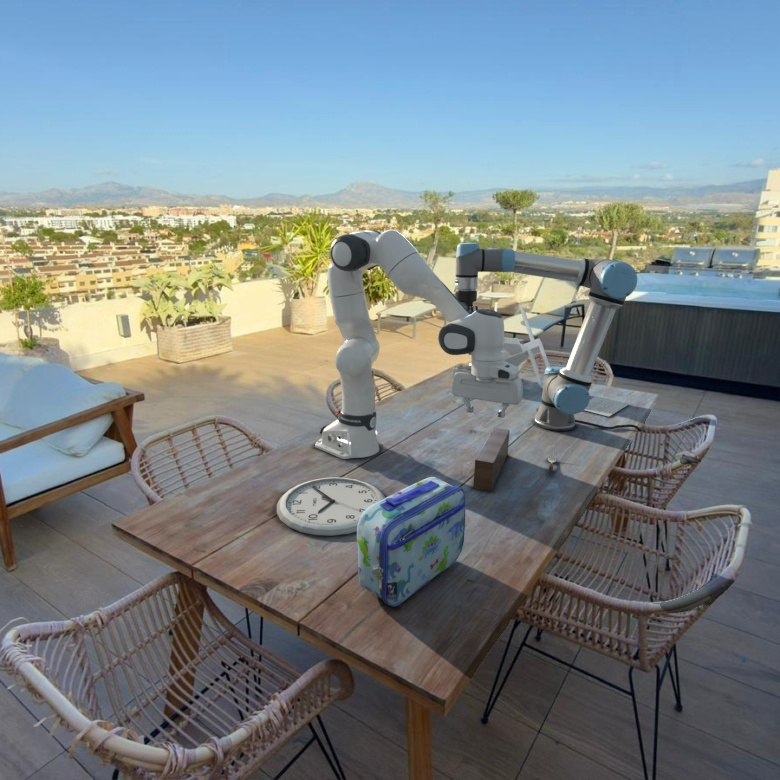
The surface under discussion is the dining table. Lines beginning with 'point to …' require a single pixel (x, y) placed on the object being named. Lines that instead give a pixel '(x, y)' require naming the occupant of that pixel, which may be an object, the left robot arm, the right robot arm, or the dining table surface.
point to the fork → (551, 462)
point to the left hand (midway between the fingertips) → (485, 414)
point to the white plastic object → (524, 350)
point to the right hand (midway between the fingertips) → (463, 350)
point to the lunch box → (410, 539)
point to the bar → (491, 459)
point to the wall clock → (327, 505)
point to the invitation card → (604, 406)
